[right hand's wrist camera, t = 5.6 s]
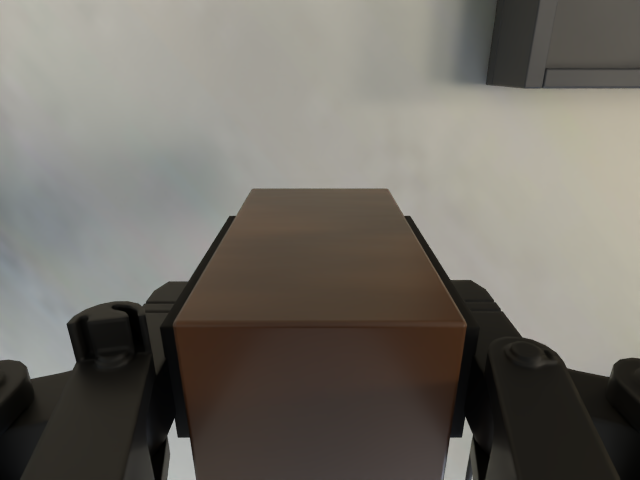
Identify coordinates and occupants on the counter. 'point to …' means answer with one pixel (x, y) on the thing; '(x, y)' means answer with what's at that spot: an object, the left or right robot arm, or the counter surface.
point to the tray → (566, 44)
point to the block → (319, 344)
